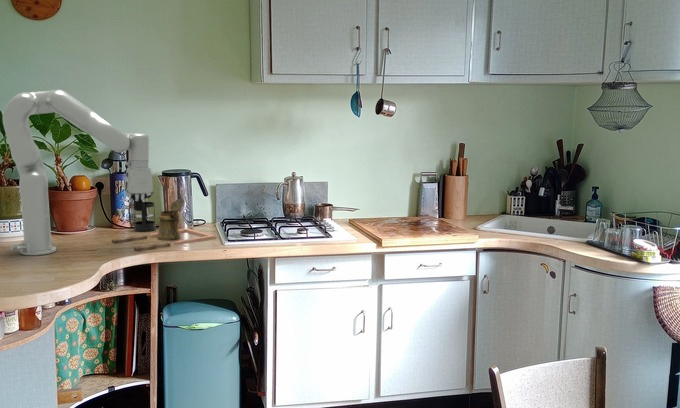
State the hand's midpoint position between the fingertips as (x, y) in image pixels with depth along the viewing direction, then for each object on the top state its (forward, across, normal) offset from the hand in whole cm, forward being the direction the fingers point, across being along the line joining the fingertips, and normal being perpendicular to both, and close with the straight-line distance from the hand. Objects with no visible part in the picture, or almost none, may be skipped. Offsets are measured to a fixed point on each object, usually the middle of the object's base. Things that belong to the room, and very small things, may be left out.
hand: (138, 210), depth 273 cm
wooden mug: (+13, +16, 0) cm, 21 cm away
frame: (+13, +19, -1) cm, 23 cm away
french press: (+14, +16, +25) cm, 33 cm away
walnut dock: (+14, +1, -1) cm, 14 cm away
